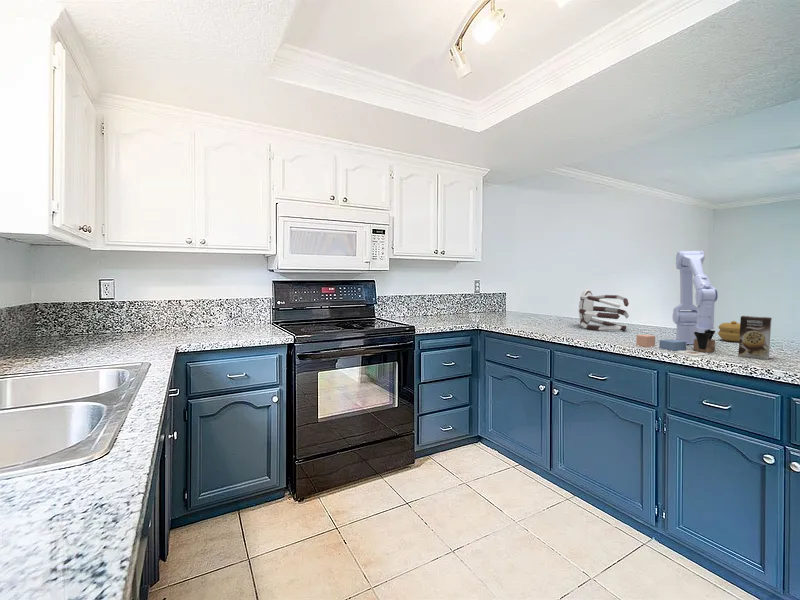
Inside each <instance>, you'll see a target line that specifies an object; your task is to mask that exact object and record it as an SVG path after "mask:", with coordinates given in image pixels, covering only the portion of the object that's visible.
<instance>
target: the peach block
mask: <svg viewBox="0 0 800 600" xmlns="http://www.w3.org/2000/svg"><path fill="white" fill-rule="evenodd" d="M635 342H636V344H635V345H639V346H638V347H641V346H644V347H643V348H652V347H651V346H655V347H656V335H652V334H637V335H636V341H635Z"/></svg>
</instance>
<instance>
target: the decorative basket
mask: <svg viewBox="0 0 800 600" xmlns="http://www.w3.org/2000/svg"><path fill="white" fill-rule="evenodd" d="M608 299H615V300H617V299H619V300H621V301H623V305H624V306H625V307H628V306H629V304H630V303H629V300H628V298H626V297H624V296H621V295H617V294H616V295H613V294H610V295H609V294H603V295H593V293H592V291H591V289H590V288H586V289H584V290H583V291H582V293H581V295H580V299H579V302H578V303H579V304H578V315H579V320H580V321H579V322H580V323H579V325H580V326H581V327H582V328H584V329H586V330H591V331H598V330H599V332H604V331H606V332H607V331H620V330H623V331H625V330H626V329H627V326H626V325H622V324H618V323H614V322H610V321H606V320H603V319H613V320H618V319H619V318H620V315H621V316H624V317H625V319H628V318H629V316H630V315H629V313H628V311H626V310H624V309H620V308H621V304H620V303H618V302H616V301H615V302H614V301H611V300H608ZM594 302H597V303H602V304H603V305H608V306H599V305H598V306H595V305H594ZM609 306H611V307H609ZM593 317H594V318H593ZM598 318H599V319H598ZM589 323H594V324H599V325H602V326H598V325H589Z"/></svg>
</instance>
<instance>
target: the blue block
mask: <svg viewBox="0 0 800 600" xmlns="http://www.w3.org/2000/svg"><path fill="white" fill-rule="evenodd" d="M658 343H659V349H660V348H661V349H660V350H665V349H667V350H666V351H671V350H672V351H671V352H677V351H678V350H682V351H687V344H686V341H679V340H676V339H671V338H670V339H659V342H658Z"/></svg>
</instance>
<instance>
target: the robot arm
mask: <svg viewBox="0 0 800 600" xmlns="http://www.w3.org/2000/svg"><path fill="white" fill-rule="evenodd" d="M705 258H706V256H705V252H704V251H703V250H702V249H701V250H679V251H678V252H677V253H676V255H675V267H676V269H677V270H679V276H680V277H679V278H680V279H679V281H680V282H679V283H680V284H679V285H680V286H679V289H680V291H679V295H680V297H679V298H680V301H679V302H680V303H679V304H678V305H676V306H675V307H674V308H673V310H672V311H673V313H672V321H673V324H675V325H676V332H675V335H676V337H675V340H679V341H686V345H687V344H689V345H694V339H697V341H698V346H699V349H706V346H707V342H708V339H710V340H713V337H714V334H716V330H715V327H714V325H715V323H714V322H715V303H716V302H717V300H718V297H719V292H718V290H717V288H715V286H712V283H711V280H710V278H709V276H708V275H706V274H705V272H704V267H703V264H704V261H705V260H706V259H705ZM693 285H694V288H695V296H694V295H693V294H694V293H693V290H694V289H693ZM694 297H695V300H696V301H695V302H696V305H695V304H693V303H694V302H693V301H694V299H693V298H694Z"/></svg>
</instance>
